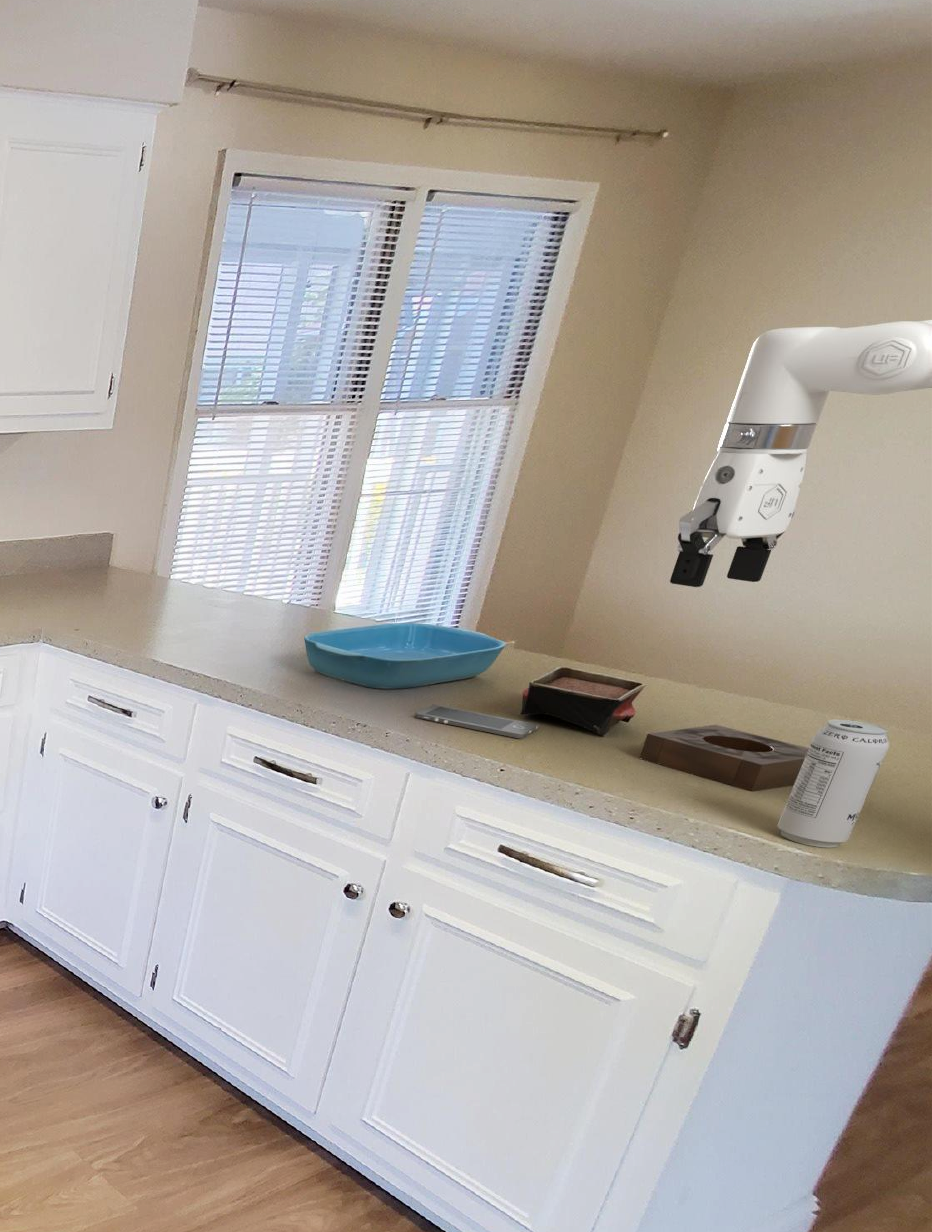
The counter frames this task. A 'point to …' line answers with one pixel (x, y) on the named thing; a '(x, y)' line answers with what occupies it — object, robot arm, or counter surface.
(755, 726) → the counter surface
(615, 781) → the counter surface
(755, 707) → the counter surface
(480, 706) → the counter surface
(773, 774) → the holder
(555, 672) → the dark brown bonsai pot
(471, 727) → the smartphone
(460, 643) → the casserole dish
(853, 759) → the energy drink can
